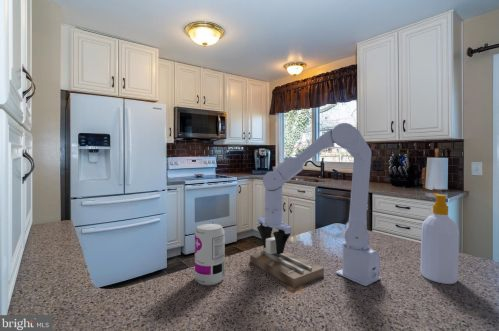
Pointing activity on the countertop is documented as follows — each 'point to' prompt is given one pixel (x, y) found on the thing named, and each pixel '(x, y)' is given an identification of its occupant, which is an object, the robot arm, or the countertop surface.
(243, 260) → the countertop surface
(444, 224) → the soap bottle
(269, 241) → the block
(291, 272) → the tan slider track board
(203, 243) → the supplement can
